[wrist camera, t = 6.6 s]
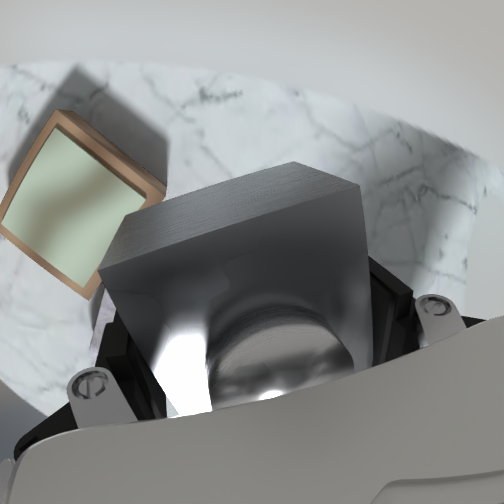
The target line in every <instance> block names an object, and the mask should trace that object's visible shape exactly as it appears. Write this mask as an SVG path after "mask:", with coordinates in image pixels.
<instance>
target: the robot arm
mask: <svg viewBox="0 0 504 504" xmlns="http://www.w3.org/2000/svg"><path fill="white" fill-rule="evenodd" d="M368 262H369V274H370V288H371V305H372V327H373V362H372V367H371V368H369V369H366V370H363V371H360V372H357V373H354V374H351V375H348V376H345V377H342V378H339V379H335V380H332V381H329V382H326V383H322V384H319V385H316V386H312V387H309V388H305V389H302V390H298V391H294V392H290V393H287V394H283V395H279V396H275V397H271V398H267V399H262V400H258V401H254V402H249V403H245V404H240V405H235V406H230V407H225V408H220V409H215V410H210V411H204V412H198V413H193V414H186V415H180V416H173V417H167V410H166V393H165V391H164V390H163V388H162V387H161V385H160V383H159V382H158V380H157V379H156V377H155V376H154V374H153V372H152V371H151V369H150V367H149V366H148V364H147V363H146V361H145V359H144V358H143V356H142V354H141V353H140V351H139V349H138V347H137V346H136V344H135V342H134V340H133V339H132V337H131V335H130V333H129V332H128V330H127V328H126V326H125V324H124V322H123V321H122V319H121V317H120V315H119V313H118V311H117V309H116V311H115V315H114V319H113V322H109V323H106V325H105V328H104V332H103V335H102V339H101V343H100V347H99V351H98V355H97V360H96V364H95V367H91V368H87V369H84V370H82V371H80V372H78V373H77V374H76V375H74V376H73V377H72V378H71V380H70V381H69V383H68V386H67V395H68V399H69V402H68V403H67V404H66V405H64V406H63V407H62V408H60V409H59V410H58V411H56V412H55V413H54V414H52V415H51V416H49V417H48V418H47V419H45V420H44V421H43V422H41V423H40V424H39V425H37V426H36V427H35V428H33V429H32V430H31V431H29V432H28V433H27V434H25V435H24V436H23V437H22V438H21V439H20V440H19V441H18V443H17V444H16V446H15V450H14V459H13V460H11V461H10V460H9V459H8V458H7V459H5V460H4V461H3V462H1V463H0V504H504V316H500V317H496V318H492V319H489V320H483V319H477V318H471V317H465V316H460V314H459V312H458V310H457V308H456V306H455V305H454V303H453V302H452V301H451V300H449V299H448V298H446V297H443V296H440V295H435V294H428V295H423V296H420V297H419V298H418V299H414V298H413V290H412V289H410V288H409V287H408V286H407V285H405V284H404V283H403V282H402V281H400V280H399V279H398V278H396V277H395V276H394V275H393V274H391V273H390V272H389V271H387V270H386V269H385V268H384V267H382V266H381V265H380V264H378V263H377V262H376V261H374V260H373V259H372V258H371V257H369V256H368Z"/></svg>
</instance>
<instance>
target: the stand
mask: <svg viewBox="0 0 504 504" xmlns="http://www.w3.org/2000/svg"><path fill="white" fill-rule="evenodd" d="M166 190H167V186H165V185H164V184H163V183H161V182H160V181H159V180H158V179H156V178H155V177H154V176H153V175H151V174H150V173H149V172H148V171H146V170H145V169H144V168H143V167H141V166H140V165H139V164H138V163H136V162H135V161H134V160H133V159H131V158H130V157H129V156H128V155H126V154H125V153H124V152H123V151H121V150H120V149H119V148H118V147H116V146H115V145H114V144H112V143H111V142H110V141H109V140H107V139H106V138H105V137H104V136H102V135H101V134H100V133H99V132H97V131H96V130H95V129H94V128H92V127H91V126H90V125H89V124H87V123H86V122H85V121H84V120H82V119H81V118H80V117H79V116H77V115H76V114H75V113H74V112H72V111H66V110H58V109H56V110H55V111H54V113H53V114H52V116H51V117H50V119H49V120H48V122H47V123H46V125H45V126H44V128H43V129H42V131H41V132H40V134H39V135H38V137H37V139H36V140H35V142H34V143H33V145H32V147H31V148H30V150H29V152H28V153H27V155H26V157H25V159H24V160H23V162H22V164H21V166H20V167H19V169H18V171H17V173H16V175H15V177H14V178H13V180H12V182H11V184H10V186H9V188H8V190H7V192H6V194H5V196H4V198H3V200H2V202H1V204H0V233H1V234H2V235H3V236H4V237H6V238H7V239H8V240H9V241H10V242H12V243H13V244H14V245H15V246H16V247H18V248H19V249H20V250H21V251H22V252H24V253H25V254H26V255H27V256H29V257H30V258H31V259H32V260H34V261H35V262H36V263H38V264H39V265H40V266H41V267H43V268H44V269H45V270H47V271H48V272H49V273H51V274H52V275H53V276H55V277H56V278H57V279H59V280H60V281H61V282H63V283H64V284H66V285H67V286H68V287H70V288H71V289H73V290H74V291H75V292H77V293H78V294H80V295H81V296H82V297H84V298H85V299H87V300H88V301H89V300H90V298H91V297H92V295H93V294H94V292H95V291H96V289H97V288H98V286H99V285H100V283H101V282H102V280H101V278H100V276H99V273H98V271H97V270H98V268H99V266H100V264H101V262H102V260H103V258H104V256H105V254H106V251H107V249H108V247H109V245H110V244H111V242H112V240H113V238H114V236H115V234H116V232H117V230H118V228H119V226H120V224H121V222H122V220H123V219H124V217H125V215H127V214H130V213H132V212H135V211H138V210H141V209H144V208H146V207H149V206H152V205H155V204H158V203H160V202H161V201H162V200H163V199H164V197H165V196H166Z"/></svg>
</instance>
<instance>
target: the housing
mask: <svg viewBox="0 0 504 504" xmlns="http://www.w3.org/2000/svg"><path fill="white" fill-rule="evenodd" d="M97 271H98V273H99V276H100V278H101V280H102V282H103V284H104V286H105V288H106V290H107V292H108V294H109V296H110V298H111V300H112V302H113V304H114V306H115V307H116V309H117V311H118V313H119V315H120V317H121V319H122V321H123V322H124V324H125V326H126V328H127V330H128V332H129V333H130V335H131V337H132V339H133V340H134V342H135V344H136V346H137V347H138V349H139V351H140V353H141V354H142V356H143V358H144V359H145V361H146V363H147V364H148V366H149V367H150V369H151V371H152V372H153V374H154V376H155V377H156V379H157V380H158V382H159V383H160V385H161V387H162V388H163V390H164V391H165V393H166V394H167V396H168V397H169V399H170V400H171V402H172V403H173V405H174V406H175V408H176V409H177V411H178V412H179V414H180V415H186V414H193V413H198V412H204V411H210V410H215V409H220V408H225V407H230V406H235V405H240V404H245V403H249V402H254V401H258V400H262V399H267V398H271V397H275V396H279V395H283V394H287V393H290V392H294V391H298V390H302V389H305V388H309V387H312V386H316V385H319V384H322V383H326V382H329V381H332V380H335V379H339V378H342V377H345V376H348V375H351V374H354V373H357V372H360V371H363V370H366V369H369V368H371V367H372V362H373V327H372V305H371V288H370V274H369V262H368V251H367V241H366V232H365V223H364V215H363V207H362V200H361V192H360V186H359V185H357V184H355V183H352V182H349V181H347V180H344V179H341V178H339V177H336V176H333V175H331V174H328V173H325V172H322V171H320V170H317V169H314V168H311V167H308V166H306V165H303V164H300V163H297V162H290V163H286V164H283V165H279V166H275V167H272V168H268V169H265V170H261V171H258V172H254V173H251V174H248V175H244V176H241V177H237V178H234V179H231V180H228V181H224V182H221V183H218V184H215V185H212V186H208V187H205V188H202V189H199V190H196V191H193V192H190V193H187V194H184V195H181V196H178V197H175V198H172V199H169V200H166V201H163V202H160V203H158V204H155V205H152V206H149V207H146V208H144V209H141V210H138V211H135V212H132V213H130V214H127V215H125V217H124V219H123V220H122V222H121V224H120V226H119V228H118V230H117V232H116V234H115V236H114V238H113V240H112V242H111V244H110V245H109V247H108V249H107V251H106V254H105V256H104V258H103V260H102V262H101V264H100V266H99V268H98V270H97Z"/></svg>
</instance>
